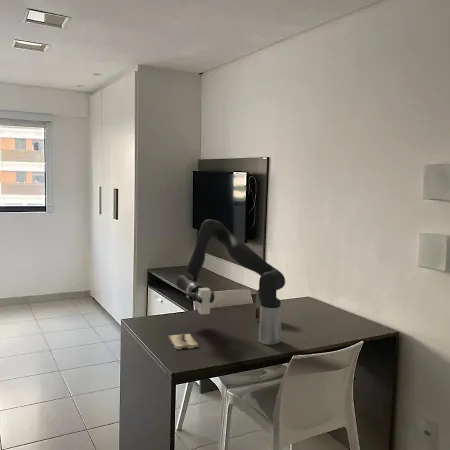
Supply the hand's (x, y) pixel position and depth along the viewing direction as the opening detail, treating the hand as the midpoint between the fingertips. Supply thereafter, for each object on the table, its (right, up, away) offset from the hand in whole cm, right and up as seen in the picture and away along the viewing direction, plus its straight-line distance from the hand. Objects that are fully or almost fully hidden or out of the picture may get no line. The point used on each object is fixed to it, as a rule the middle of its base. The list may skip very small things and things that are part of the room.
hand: (206, 300), depth 212 cm
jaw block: (-1, -6, +4) cm, 7 cm away
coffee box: (+29, -17, +40) cm, 53 cm away
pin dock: (-11, -19, +2) cm, 22 cm away
